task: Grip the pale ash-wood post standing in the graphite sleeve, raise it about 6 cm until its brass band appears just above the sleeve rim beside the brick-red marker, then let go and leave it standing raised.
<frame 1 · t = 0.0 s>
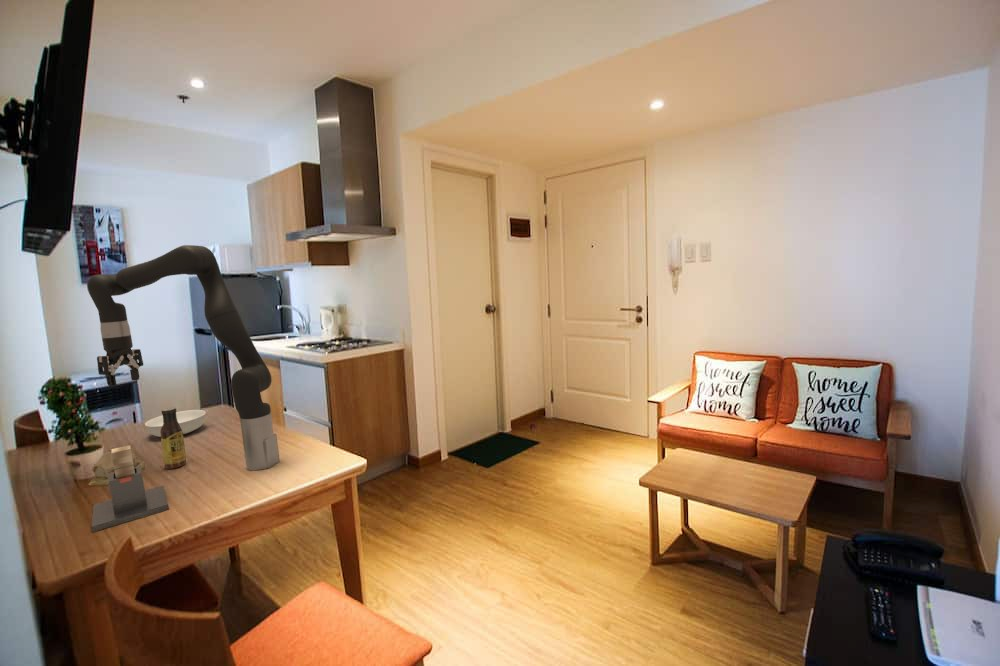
hand: (124, 383, 157), 29 cm above the table, fingers open, 8 cm apart
graphite stand: (131, 509, 130), on the table
ceramic model: (117, 477, 154), on the table
serving bowl: (178, 433, 195), on the table
sauce bottle: (176, 466, 160), on the table
ash post: (125, 476, 129), point 10 cm above the table, slide at 0.0 cm
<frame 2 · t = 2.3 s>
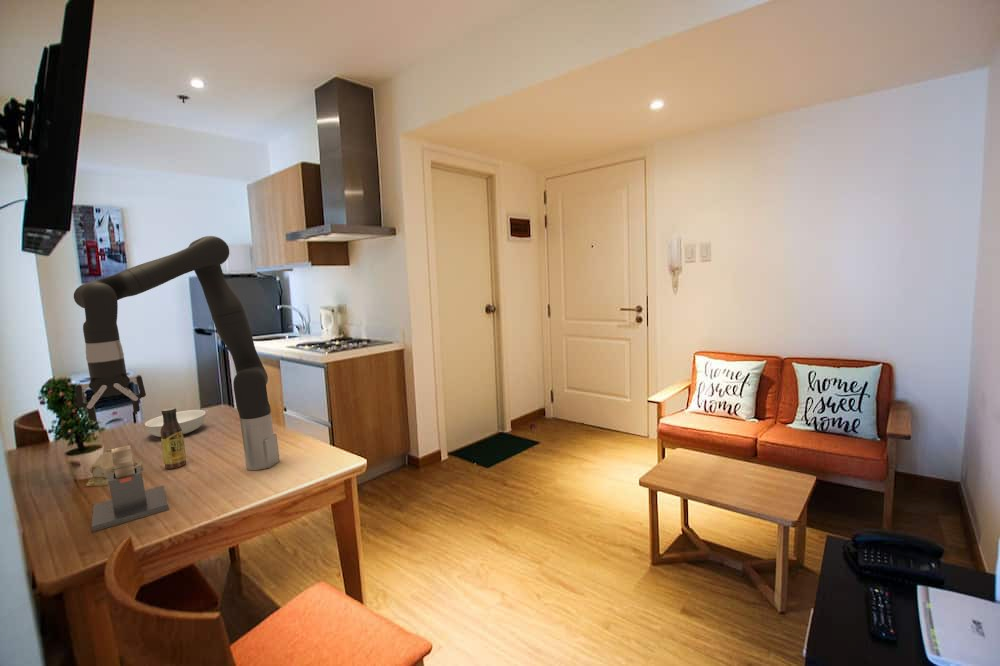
hand: (115, 417, 127), 26 cm above the table, fingers open, 8 cm apart
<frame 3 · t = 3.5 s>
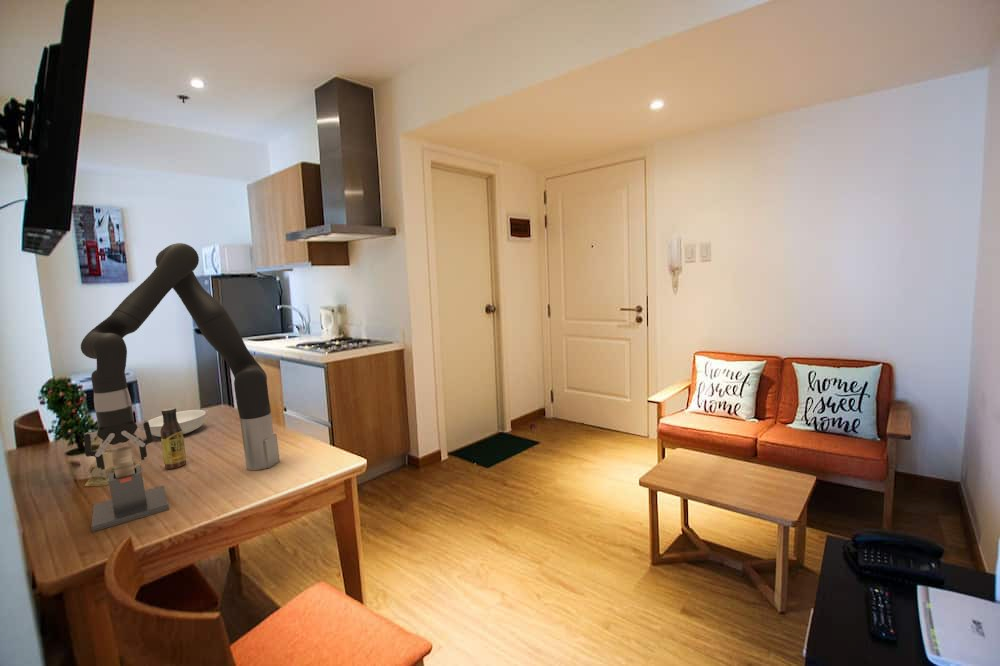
hand: (123, 463, 128), 13 cm above the table, fingers open, 8 cm apart
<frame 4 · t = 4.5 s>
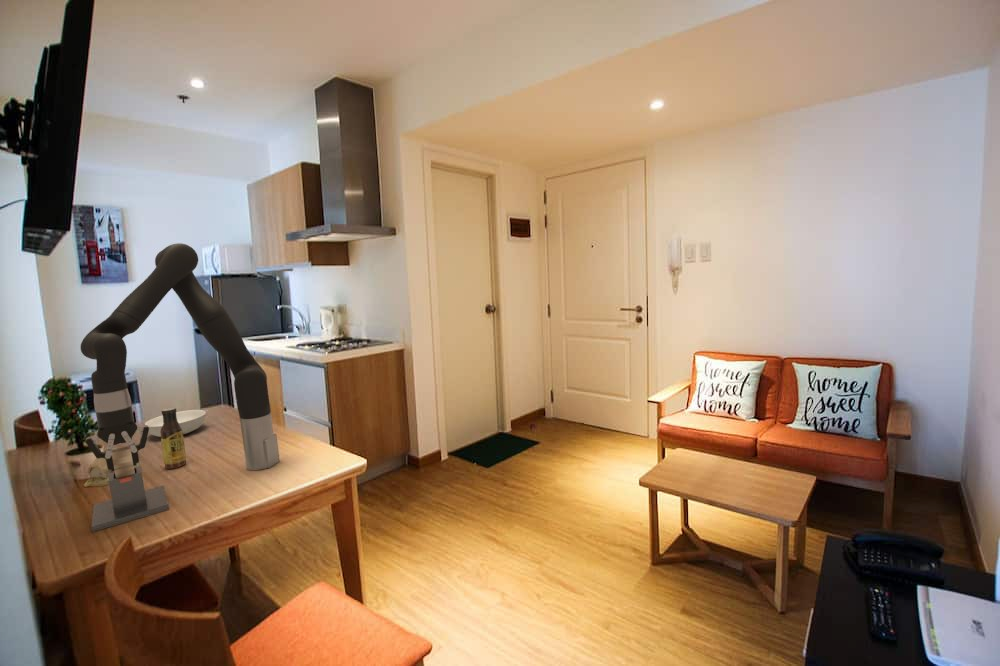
hand: (124, 467, 129), 12 cm above the table, fingers closed on ash post, 4 cm apart
ash post: (125, 476, 129), point 10 cm above the table, slide at 0.0 cm, touching gripper
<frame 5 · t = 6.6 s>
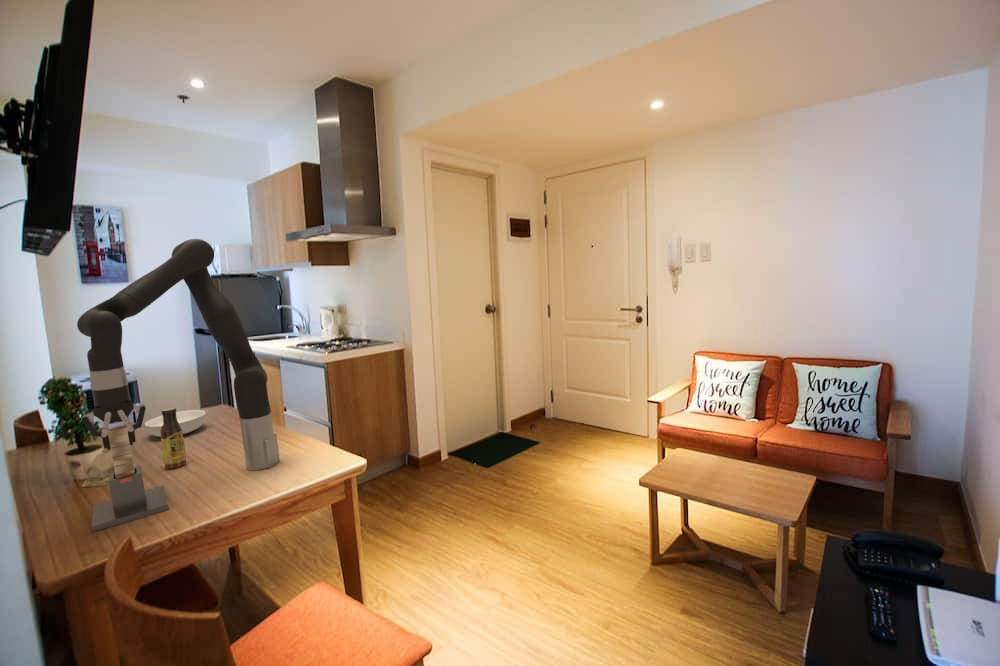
hand: (120, 446, 128), 18 cm above the table, fingers closed on ash post, 4 cm apart
ash post: (122, 456, 128), point 15 cm above the table, slide at 5.9 cm, touching gripper
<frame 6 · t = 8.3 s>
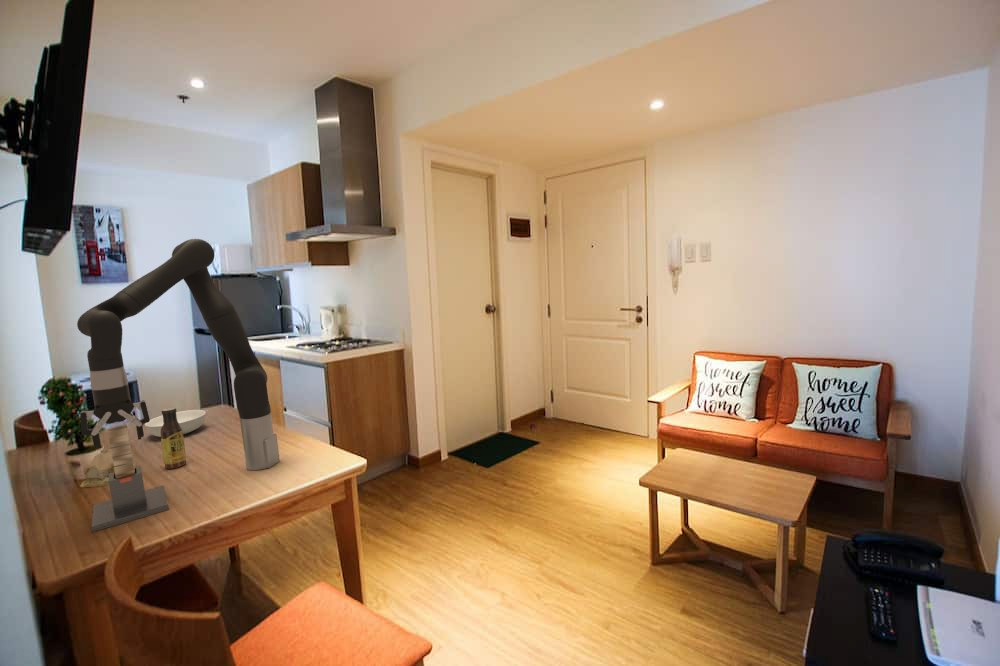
hand: (120, 443, 128), 19 cm above the table, fingers open, 8 cm apart
ash post: (122, 456, 128), point 16 cm above the table, slide at 6.0 cm
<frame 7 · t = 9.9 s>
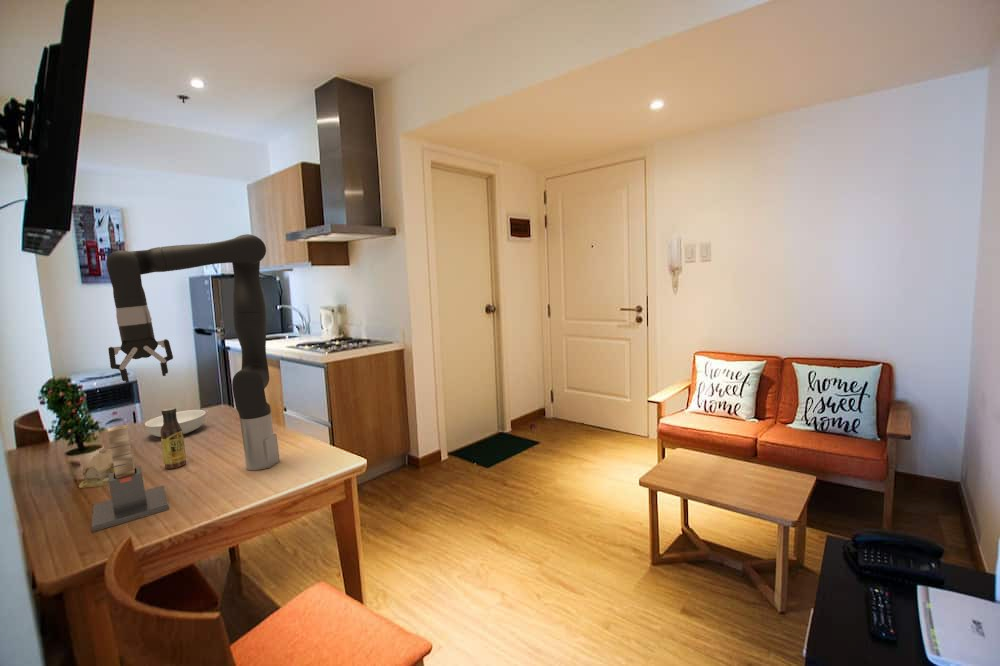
hand: (146, 378, 135), 35 cm above the table, fingers open, 8 cm apart
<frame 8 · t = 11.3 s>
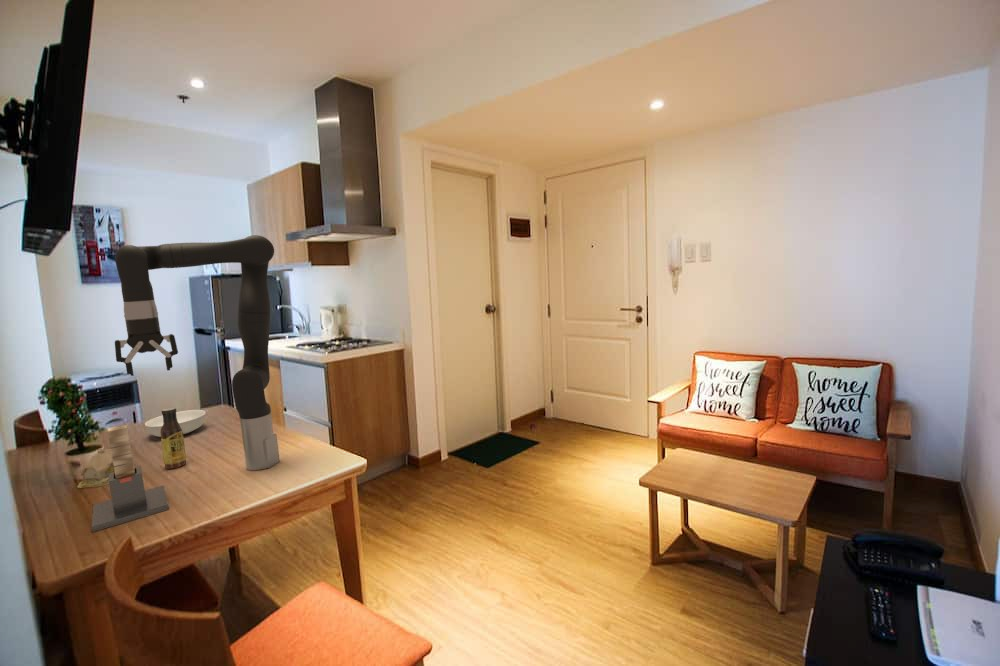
hand: (150, 372, 136), 36 cm above the table, fingers open, 8 cm apart
at the end: ash post slide at 6.0 cm; the gripper is holding nothing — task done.
